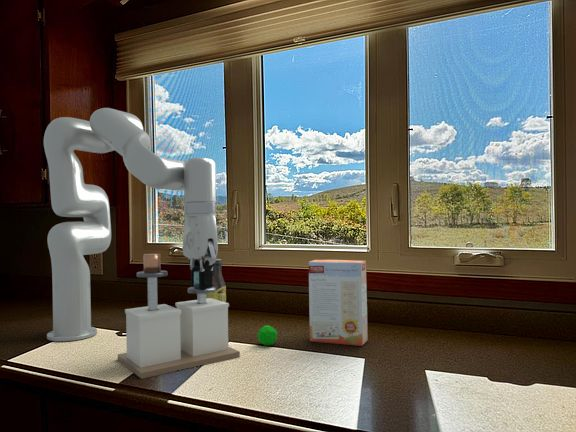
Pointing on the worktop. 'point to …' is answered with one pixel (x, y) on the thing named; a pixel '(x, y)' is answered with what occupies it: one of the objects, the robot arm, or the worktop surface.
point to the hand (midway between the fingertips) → (201, 286)
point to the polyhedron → (267, 335)
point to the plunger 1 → (152, 278)
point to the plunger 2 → (200, 292)
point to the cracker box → (338, 302)
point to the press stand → (176, 337)
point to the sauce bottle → (217, 283)
